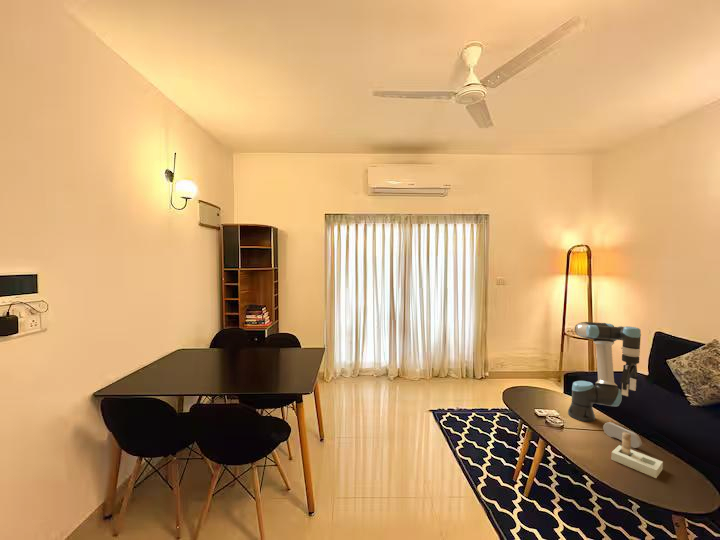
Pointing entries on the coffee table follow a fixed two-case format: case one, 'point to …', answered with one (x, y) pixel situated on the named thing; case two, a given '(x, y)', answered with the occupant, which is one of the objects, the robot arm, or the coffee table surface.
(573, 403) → the robot arm
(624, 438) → the peg
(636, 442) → the grey flat oval slab
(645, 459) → the socket block
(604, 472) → the coffee table surface
